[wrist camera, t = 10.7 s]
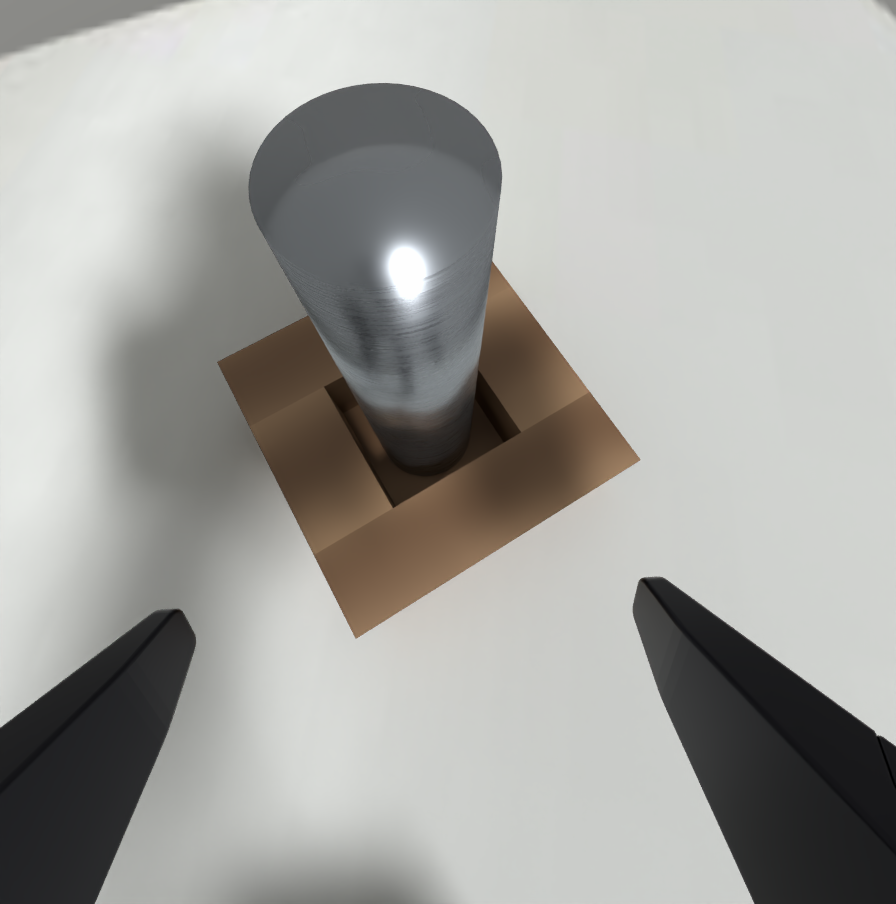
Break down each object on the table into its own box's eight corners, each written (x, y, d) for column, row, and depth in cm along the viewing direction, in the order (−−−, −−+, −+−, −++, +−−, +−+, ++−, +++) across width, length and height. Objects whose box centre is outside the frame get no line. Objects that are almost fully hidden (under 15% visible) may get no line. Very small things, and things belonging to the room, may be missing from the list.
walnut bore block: (607, 478, 19) (640, 460, 16) (374, 624, 18) (356, 638, 14) (467, 284, 22) (470, 232, 18) (256, 396, 20) (217, 362, 17)
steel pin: (485, 419, 19) (547, 140, 7) (439, 492, 18) (412, 327, 6) (412, 378, 20) (345, 52, 7) (364, 447, 19) (195, 208, 6)
